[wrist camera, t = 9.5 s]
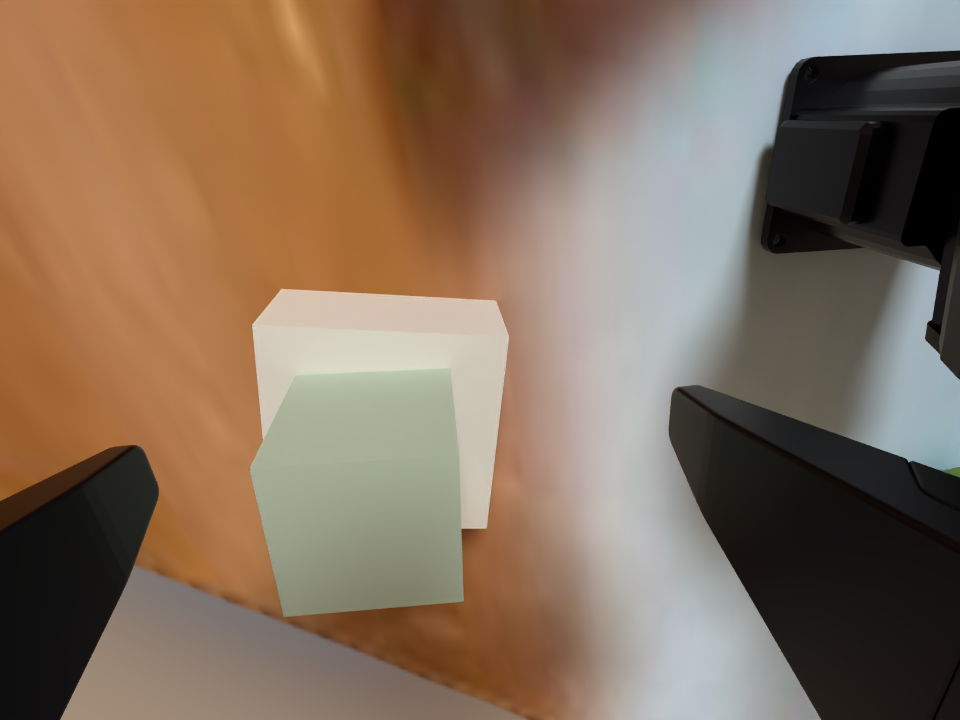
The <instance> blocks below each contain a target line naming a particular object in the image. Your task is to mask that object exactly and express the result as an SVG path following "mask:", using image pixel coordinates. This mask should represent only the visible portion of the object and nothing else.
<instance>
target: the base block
mask: <svg viewBox="0 0 960 720" xmlns="http://www.w3.org/2000/svg"><path fill="white" fill-rule="evenodd" d="M252 328H253V338H254V349H255V359H256V370H257V381H258V391H259V402H260V412H261V423H262V433H263V440H264V438H265V436H266V434H267V432H268V430H269V428H270V426H271V424H272V422H273V420H274V418H275V416H276V414H277V412H278V409H279V407H280V405H281V403H282V401H283V399H284V397H285V395H286V393H287V391H288V389H289V387H290V385H291V383H292V381H293V379H294V377H295V376H298V375H318V374H338V373H358V372H378V371H398V370H419V369H440V368H450V371H451V381H452V391H453V401H454V411H455V420H456V430H457V440H458V450H459V469H460V500H461V529H487V520H488V512H489V503H490V495H491V486H492V478H493V469H494V461H495V452H496V444H497V435H498V426H499V418H500V409H501V401H502V392H503V384H504V375H505V367H506V358H507V350H508V341H509V336H508V333H507V330H506V327H505V324H504V322H503V319H502V316H501V313H500V311H499V308H498V305H497V302H496V301H492V300H474V299H455V298H437V297H419V296H400V295H382V294H364V293H345V292H327V291H309V290H290V289H281V290H280V292H279V293H278V294H277V295H276V296H275V298H274V299H273V300H272V301H271V302H270V304H269V305H268V306H267V307H266V309H265V310H264V311H263V312H262V313H261V315H260V316H259V317H258V318H257V320H256V321H255V322H254V323H253V324H252Z"/></svg>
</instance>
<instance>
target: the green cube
mask: <svg viewBox="0 0 960 720" xmlns="http://www.w3.org/2000/svg"><path fill="white" fill-rule="evenodd" d="M250 473H251V477H252V482H253V486H254V490H255V495H256V499H257V503H258V508H259V512H260V516H261V521H262V525H263V529H264V534H265V538H266V542H267V546H268V551H269V555H270V559H271V564H272V568H273V572H274V577H275V581H276V585H277V590H278V594H279V598H280V603H281V607H282V611H283V616H284V617H290V616H301V615H313V614H325V613H337V612H348V611H360V610H372V609H384V608H395V607H407V606H419V605H430V604H442V603H454V602H464V595H463V563H462V532H461V500H460V469H459V450H458V440H457V430H456V420H455V411H454V401H453V391H452V381H451V371H450V368H440V369H419V370H398V371H378V372H358V373H338V374H318V375H298V376H295V377H294V379H293V381H292V383H291V385H290V387H289V389H288V391H287V393H286V395H285V397H284V399H283V401H282V403H281V405H280V407H279V409H278V412H277V414H276V416H275V418H274V420H273V422H272V424H271V426H270V428H269V430H268V432H267V434H266V436H265V438H264V440H263V442H262V444H261V446H260V448H259V450H258V452H257V454H256V457H255V459H254V461H253V463H252V465H251V467H250Z"/></svg>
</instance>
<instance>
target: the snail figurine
mask: <svg viewBox="0 0 960 720" xmlns="http://www.w3.org/2000/svg"><path fill="white" fill-rule="evenodd" d="M944 472H946V473H948V474H951V475H954V476H957V477H960V467H957V468H953V469H950V470H947V471H944Z"/></svg>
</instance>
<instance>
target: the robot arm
mask: <svg viewBox="0 0 960 720" xmlns="http://www.w3.org/2000/svg"><path fill="white" fill-rule="evenodd" d="M809 67H810V69H811V70H812V75H811V78H810V79H809V80H808V81H806V80H805V72H806V70H807V69H808V68H809ZM766 200H767V201H768V203H767V209H766V215H765V220H764V226H763V232H762V237H761V244H762V246H763V248H764V249H765V250H767V251H769V252H772V253H777V254H779V253H794V252H809V251H824V250H839V249H854V248H868V249H871V250H874V251H878V252H881V253H884V254H887V255H890V256H894V257H897V258H900V259H903V260H907V261H910V262H913V263H916V264H920V265H923V266H926V267H929V268H932V269H936V270H939V271H940V274H939V281H938V287H937V293H936V300H935V306H934V312H933V318H932V320H931V321H929V322H928V323H927V329H926V335H925V340H926V341H927V342H928V343H929V344H930V345H931V346H932V347H933V348H934V349H935V350H936V351H937V352H938V353H939V354H940V359H941V361H942V362H943V363H944V364H945V365H946V366H947V367H948V368H949V369H950V370H951V371H952V372H953V373H954V375H955V376H956V377H957V378H958V379H960V51H939V52H916V53H893V54H870V55H847V56H824V57H811V58H806V59H802V60H801V61H799V62H798V63H796V65H795V66H794V68H793V69H792V72H791V75H790V80H789V85H788V91H787V96H786V102H785V108H784V113H783V119H782V125H781V126H780V127H779V128H778V133H777V138H776V144H775V150H774V155H773V161H772V167H771V172H770V178H769V184H768V189H767V195H766ZM778 234H780V240H779V241H778V242H777V243H776V244H774V242H773V241H774V238H775V237H776V236H777V235H778ZM669 437H670V441H671V444H672V446H673V448H674V451H675V453H676V455H677V458H678V460H679V462H680V465H681V467H682V469H683V471H684V474H685V476H686V478H687V481H688V483H689V485H690V488H691V490H692V492H693V495H694V497H695V499H696V502H697V504H698V506H699V508H700V510H701V512H702V514H703V516H704V518H705V520H706V522H707V524H708V525H709V527H710V529H711V531H712V532H713V534H714V536H715V537H716V539H717V541H718V543H719V544H720V546H721V548H722V550H723V551H724V553H725V555H726V556H727V558H728V560H729V562H730V563H731V565H732V567H733V568H734V570H735V572H736V574H737V575H738V577H739V579H740V581H741V582H742V584H743V586H744V587H745V589H746V591H747V593H748V594H749V596H750V598H751V599H752V601H753V603H754V605H755V606H756V608H757V610H758V612H759V613H760V615H761V617H762V618H763V620H764V622H765V624H766V625H767V627H768V629H769V630H770V632H771V634H772V636H773V637H774V639H775V641H776V643H777V644H778V646H779V648H780V649H781V651H782V653H783V655H784V656H785V658H786V660H787V661H788V663H789V665H790V667H791V668H792V670H793V672H794V673H795V675H796V677H797V679H798V680H799V682H800V684H801V686H802V687H803V689H804V691H805V692H806V694H807V696H808V698H809V699H810V701H811V703H812V704H813V706H814V708H815V710H816V711H817V713H818V715H819V717H820V718H821V720H960V477H957V476H954V475H951V474H948V473H946V472H943V471H940V470H937V469H934V468H931V467H928V466H926V465H923V464H920V463H917V462H914V461H910V462H908V460H907V459H905V458H903V457H900V456H897V455H894V454H891V453H889V452H886V451H883V450H880V449H877V448H875V447H872V446H869V445H866V444H863V443H860V442H858V441H855V440H852V439H849V438H846V437H844V436H841V435H838V434H835V433H832V432H829V431H827V430H824V429H821V428H818V427H815V426H813V425H810V424H807V423H804V422H801V421H798V420H796V419H793V418H790V417H787V416H784V415H781V414H779V413H776V412H773V411H770V410H767V409H765V408H762V407H759V406H756V405H753V404H750V403H748V402H745V401H742V400H739V399H736V398H734V397H731V396H728V395H725V394H722V393H719V392H717V391H714V390H711V389H708V388H705V387H703V386H699V385H692V386H683V387H677V388H675V389H674V391H673V393H672V397H671V407H670V419H669ZM158 495H159V488H158V484H157V481H156V478H155V476H154V474H153V471H152V469H151V466H150V464H149V461H148V459H147V457H146V454H145V452H144V450H143V449H142V448H141V447H139V446H137V445H127V446H117V447H111V448H109V449H106V450H104V451H102V452H100V453H98V454H96V455H94V456H92V457H90V458H88V459H86V460H84V461H82V462H80V463H78V464H76V465H74V466H72V467H69V468H67V469H65V470H63V471H61V472H59V473H57V474H55V475H53V476H51V477H49V478H47V479H45V480H43V481H41V482H39V483H37V484H35V485H32V486H30V487H28V488H26V489H24V490H22V491H20V492H18V493H16V494H14V495H12V496H10V497H8V498H6V499H4V500H2V501H0V720H60V719H61V717H62V715H63V713H64V711H65V709H66V707H67V705H68V703H69V701H70V699H71V697H72V694H73V693H74V690H75V688H76V686H77V684H78V682H79V680H80V678H81V676H82V674H83V672H84V670H85V668H86V666H87V664H88V662H89V660H90V658H91V656H92V654H93V652H94V650H95V647H96V646H97V643H98V641H99V639H100V637H101V635H102V633H103V631H104V629H105V627H106V625H107V623H108V621H109V619H110V617H111V615H112V613H113V611H114V609H115V607H116V605H117V602H118V600H119V599H120V596H121V594H122V592H123V590H124V588H125V585H126V583H127V581H128V579H129V576H130V573H131V571H132V569H133V566H134V564H135V561H136V558H137V555H138V553H139V550H140V547H141V544H142V542H143V539H144V536H145V533H146V531H147V528H148V525H149V522H150V520H151V517H152V514H153V511H154V509H155V506H156V503H157V500H158Z"/></svg>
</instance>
